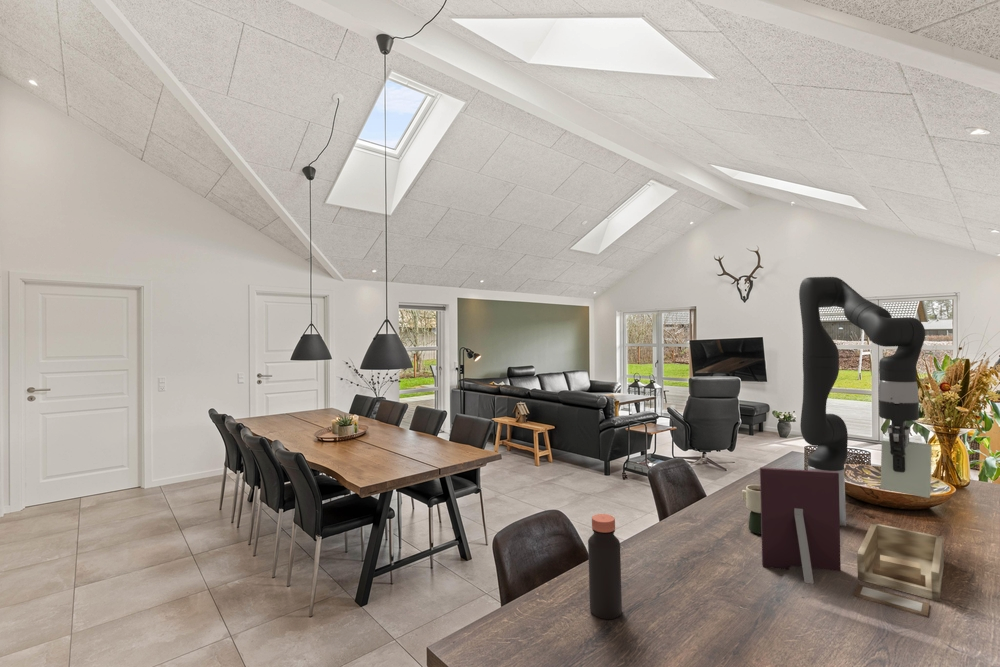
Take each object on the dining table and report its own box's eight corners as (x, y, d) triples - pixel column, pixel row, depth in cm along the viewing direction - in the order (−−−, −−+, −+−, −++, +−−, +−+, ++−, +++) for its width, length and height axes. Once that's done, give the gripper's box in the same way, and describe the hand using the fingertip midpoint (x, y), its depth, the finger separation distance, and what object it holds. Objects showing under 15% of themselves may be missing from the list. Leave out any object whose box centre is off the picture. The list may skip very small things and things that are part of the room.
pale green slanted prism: (880, 488, 118) (881, 440, 118) (882, 485, 120) (883, 438, 120) (929, 498, 112) (930, 447, 111) (930, 494, 114) (931, 444, 113)
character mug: (786, 535, 138) (784, 490, 138) (771, 541, 134) (770, 495, 134) (750, 523, 147) (749, 481, 147) (735, 528, 144) (734, 485, 144)
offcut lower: (872, 579, 111) (872, 568, 111) (874, 573, 113) (874, 562, 113) (924, 593, 104) (924, 581, 104) (925, 586, 107) (925, 575, 107)
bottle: (621, 622, 99) (618, 525, 99) (588, 617, 101) (585, 522, 101) (622, 604, 105) (619, 513, 105) (591, 600, 107) (588, 511, 107)
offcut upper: (880, 570, 109) (880, 559, 109) (880, 565, 112) (880, 554, 112) (921, 579, 105) (920, 568, 105) (920, 574, 108) (919, 562, 108)
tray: (857, 584, 111) (857, 553, 111) (872, 549, 128) (871, 522, 128) (939, 607, 101) (938, 573, 101) (944, 566, 118) (943, 537, 118)
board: (854, 601, 104) (853, 593, 104) (858, 590, 108) (858, 583, 108) (927, 623, 96) (927, 615, 96) (929, 610, 100) (929, 602, 100)
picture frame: (839, 573, 116) (835, 470, 116) (854, 594, 107) (850, 482, 107) (762, 564, 121) (759, 466, 121) (770, 584, 112) (766, 477, 112)
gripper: (882, 395, 124) (884, 461, 124) (874, 401, 114) (876, 473, 114) (920, 397, 119) (922, 466, 119) (916, 404, 109) (918, 479, 109)
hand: (899, 469), depth 116 cm, fingers closed on pale green slanted prism, 3 cm apart
